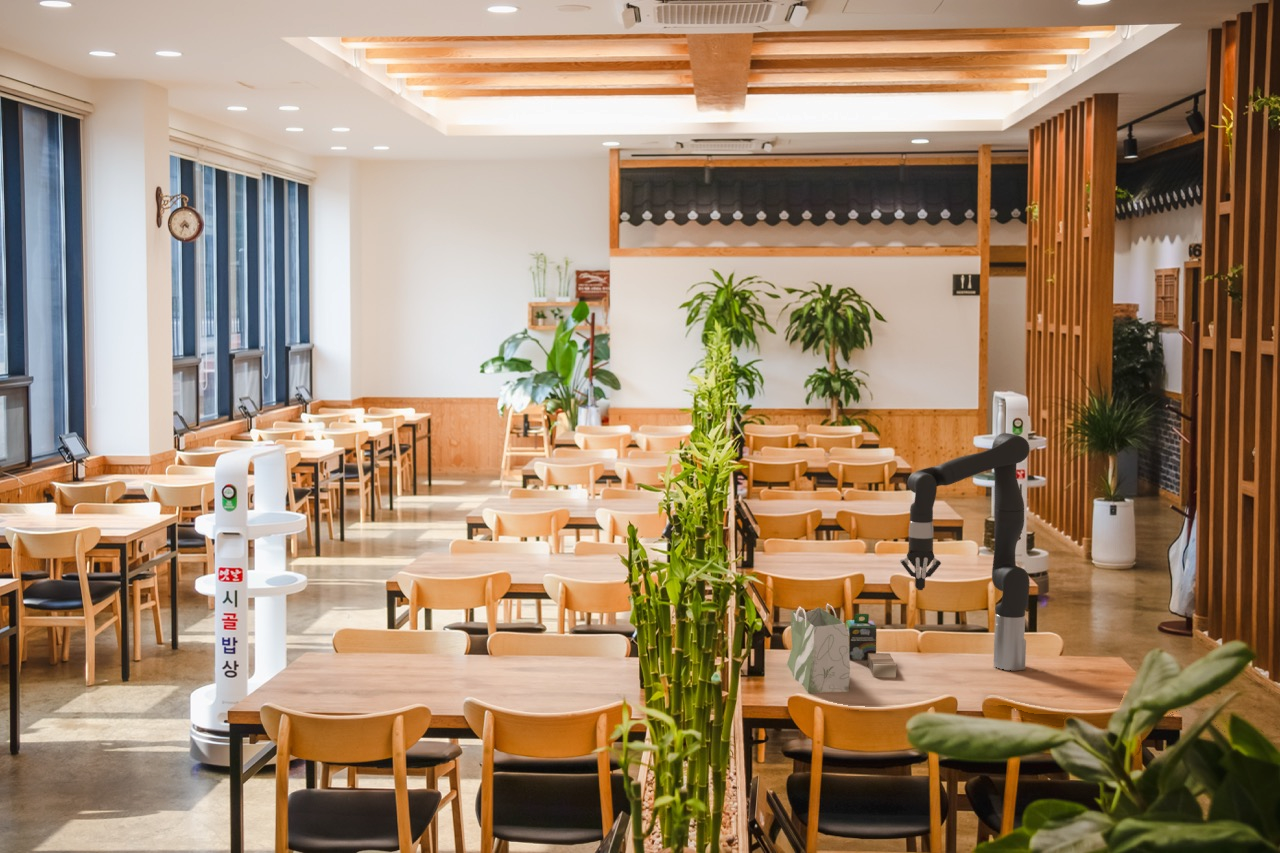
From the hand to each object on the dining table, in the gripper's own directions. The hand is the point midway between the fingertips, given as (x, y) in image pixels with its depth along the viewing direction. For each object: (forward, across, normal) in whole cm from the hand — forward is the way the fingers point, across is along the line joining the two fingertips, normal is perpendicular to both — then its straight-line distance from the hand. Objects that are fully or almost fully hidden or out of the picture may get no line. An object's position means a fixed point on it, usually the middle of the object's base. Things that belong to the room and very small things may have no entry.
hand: (920, 589), depth 411 cm
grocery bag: (+26, -33, -9) cm, 44 cm away
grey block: (+24, -12, -7) cm, 28 cm away
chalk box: (+27, -16, +17) cm, 35 cm away
